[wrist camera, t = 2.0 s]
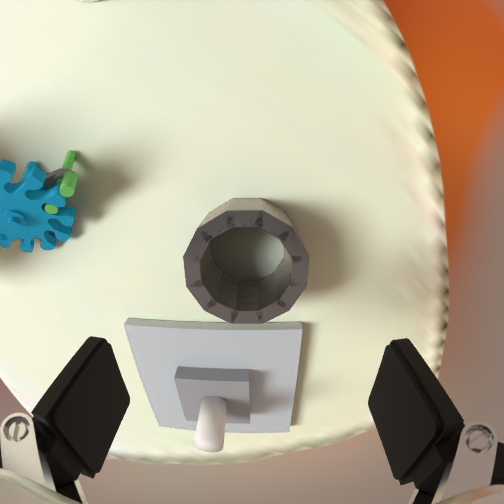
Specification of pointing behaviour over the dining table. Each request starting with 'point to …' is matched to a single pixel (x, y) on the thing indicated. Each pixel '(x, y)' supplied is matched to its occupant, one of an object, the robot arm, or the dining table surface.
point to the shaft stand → (218, 375)
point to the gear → (36, 204)
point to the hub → (246, 293)
